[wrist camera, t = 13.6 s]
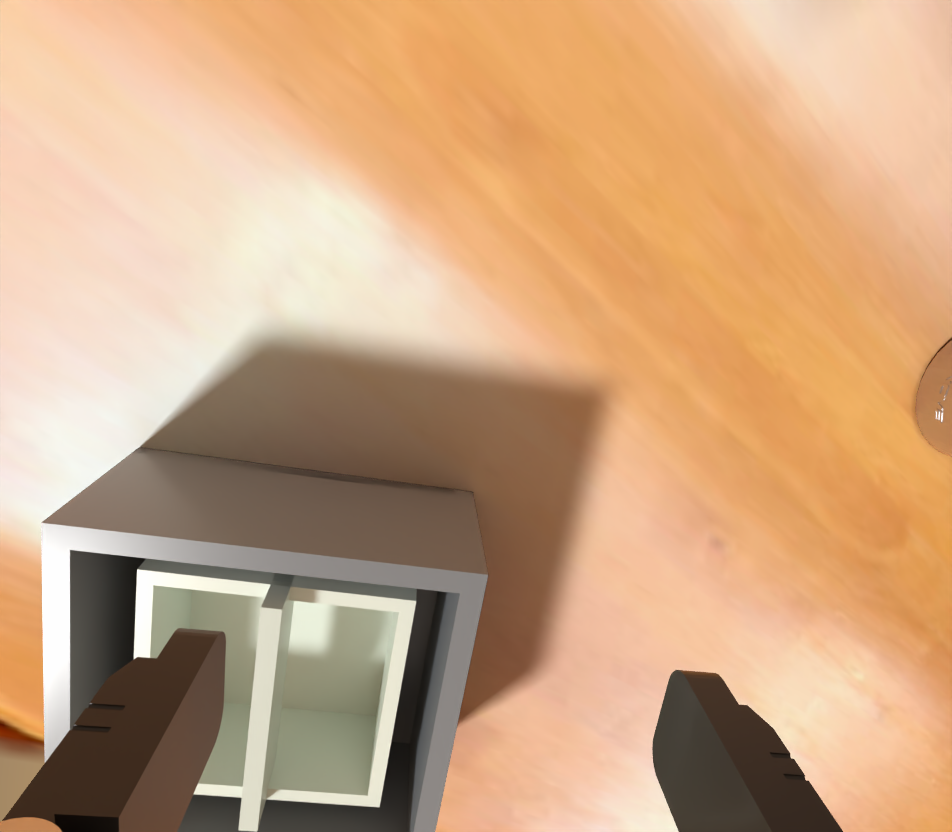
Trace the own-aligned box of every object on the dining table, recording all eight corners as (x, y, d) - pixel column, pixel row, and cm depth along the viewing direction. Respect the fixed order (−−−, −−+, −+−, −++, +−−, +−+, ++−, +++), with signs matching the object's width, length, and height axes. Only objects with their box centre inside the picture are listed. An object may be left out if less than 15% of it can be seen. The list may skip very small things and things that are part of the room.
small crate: (417, 537, 39) (416, 624, 31) (386, 717, 43) (377, 839, 35) (188, 508, 38) (118, 591, 29) (176, 699, 41) (111, 822, 33)
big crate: (472, 491, 40) (488, 575, 30) (423, 747, 45) (424, 885, 36) (139, 447, 37) (41, 522, 28) (130, 723, 43) (46, 865, 33)
